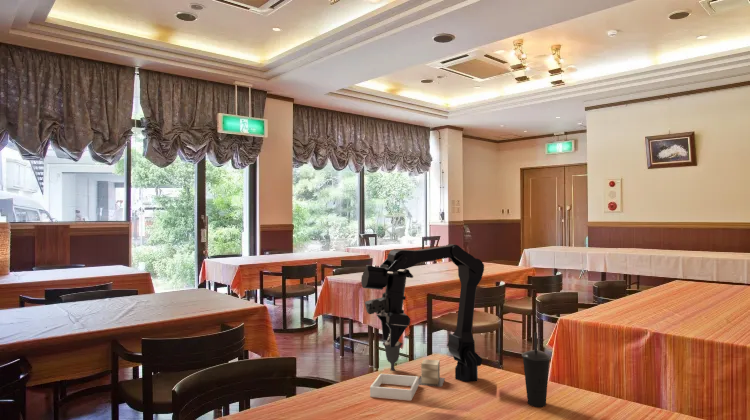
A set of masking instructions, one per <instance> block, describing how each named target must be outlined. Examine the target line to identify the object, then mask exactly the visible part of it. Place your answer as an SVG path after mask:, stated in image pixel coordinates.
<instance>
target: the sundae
mask: <svg viewBox="0 0 750 420" xmlns="http://www.w3.org/2000/svg"><path fill="white" fill-rule="evenodd" d="M382 345H383V347H384V350H385V356H386V360H387V362H389V363H390V371H391V372H393V371H396V368H395V364H396V363H397V361H398V360H399V358H400V352H401V351H400V350H401V346H403V345H404V344H403V342H401V341H400V339H399V340H398V342H397V343H396V345H395V347H390V335H389V336H388V338H387V340H385V341H384V342H382Z"/></svg>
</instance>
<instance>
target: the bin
mask: <svg viewBox="0 0 750 420" xmlns="http://www.w3.org/2000/svg"><path fill="white" fill-rule="evenodd" d="M418 379H419V376H418V375H415V376H414V375H403V374H392V373H390V374H389V373H379V375H378V376H377V377H376V379H375V380H374V381H373V382H372V383H371V384H370V386H369V398H379V399H389V400H390V399H392V400H400V401H412V400H413V398H414V396H415V394H416V392H417V390H418V389H419V386H420V385H419V383H418ZM381 384H382V385H383V384H386V385H396V386H397V385H398V386H408V387H410V389H408V388H407V389H406V388H394V387H383V386H381Z"/></svg>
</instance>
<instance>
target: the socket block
mask: <svg viewBox="0 0 750 420" xmlns="http://www.w3.org/2000/svg"><path fill="white" fill-rule="evenodd" d="M420 365H421V366H420V367H421V372H420V373H421V375H420V376H421V383H425V384H437V385H438V382H439V380H440V378H441V377H440V375H441V374H440V369H441V366H440V365H441V364H440V359H427V358H424V359H423V360H422V362H421V364H420Z"/></svg>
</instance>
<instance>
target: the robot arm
mask: <svg viewBox="0 0 750 420" xmlns="http://www.w3.org/2000/svg"><path fill="white" fill-rule="evenodd" d="M445 259H449V260H450V261H452V263H453V264H454V265H455V266H456V267H457V273H458V274H457V275H458V278H459V282H460V293H459V302H458V308H457V309H458V311H457V320H456V328H455V330H454V332H453V333H449V334H448V342H447V345H446V347H448V352H449V353H450V355H451V356H452V357H453V359H454V361H456V366H455V368H454V374H455V375H454V376H455V377H454V380H457V381H461V382H466V383H473V382H478V377H479V375H478V372H479V371H478V370H479V369H478V367H480V366H482V363H483V359H482V357H481V356H480V355H479V354H478V353H477V352H476V346H475V344H476V343H475V338H474V336H473V332H472V331H473V321H474V312H475V305H476V304H475V303H476V295H477V294H476V293H477V288H478V286H479V284H480V282H481V280H482V278H483V276H484V275H483V274H484V271H485V263H483V261H482V260H481V259H479V258H476V257H474V256H473V255H472V254H470V253H468V252H467V251H465V250H464V249H463V248H462V247H461V246H460V245H458V244H453V243H449V244H446V245H442V246H441V245H440V246H434V247H427V248H421V249H401V248H400V249H399V248H396V249H395V248H394V249H391V250H390V251H389V252H388V254H387V257H386V259H385V260H384V261H383V262H382V263H381V265H380V266H374V265H370V264H366V265H365V269H364V271H363V273H362V275H361V279H360V281H361V286H362V288H363V289H369V290H370V289H371V290H380V291H381V290H383V289H384V288H385V292H383V293H382V296H381V297H379V298H372V299H370V300H365V301H364V305H365V310H366V313H367V314H368V315H373V314H376V317H377V318H378V319H379V320H380V323H381V324H380V325H381V333H382V340H383V341H386V340H387V338H388V336H390V347H395V345H396V343H397V342H398V340H399V341H400V339H401V338H402V335H403V334H404V332H405V331H406V329H407V328H408V327H409V326H411V318H410V316H409V315H408V314H406V313H405V310H404V309H403V308H404V307H403V306H404V301H406V298H407V296H405V291H406V284H407V283H406V282H407V278H411V279H413V278H414V275H413V274H412V273H411V271H410V268H412V267H415V266H417V265H418V264H420V263H426V262H430V261H437V260H438V261H439V260H445Z"/></svg>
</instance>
